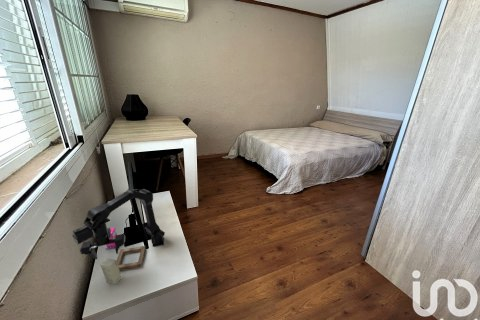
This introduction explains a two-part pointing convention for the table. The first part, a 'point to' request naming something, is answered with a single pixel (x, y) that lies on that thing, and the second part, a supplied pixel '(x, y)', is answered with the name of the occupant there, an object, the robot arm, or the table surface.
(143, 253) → the square wooden frame
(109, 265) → the skincare box
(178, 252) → the table surface
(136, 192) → the robot arm
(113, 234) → the supplement box
